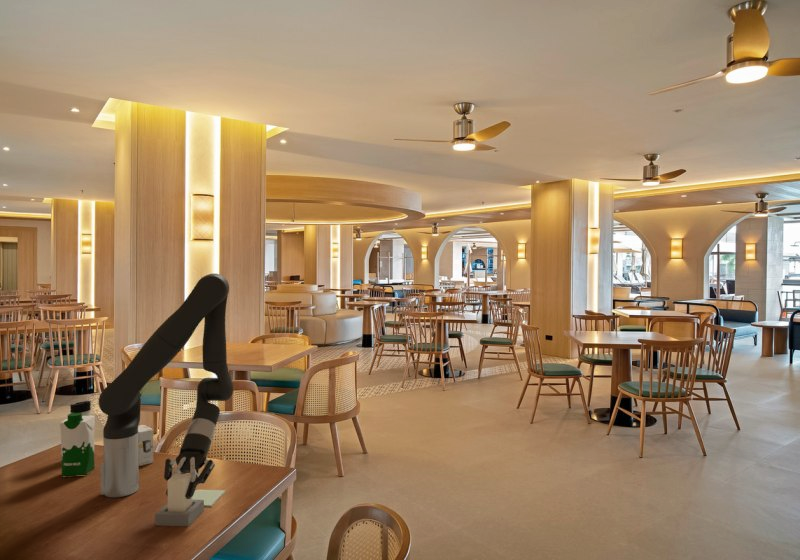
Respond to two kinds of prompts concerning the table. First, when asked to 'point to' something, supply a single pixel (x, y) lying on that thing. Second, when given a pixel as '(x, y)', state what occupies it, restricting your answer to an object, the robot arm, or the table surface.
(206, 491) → the mat
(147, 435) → the ink box
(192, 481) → the robot arm
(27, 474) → the table surface
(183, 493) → the cream carton
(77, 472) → the milk carton
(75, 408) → the travel mug
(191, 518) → the grey square frame
